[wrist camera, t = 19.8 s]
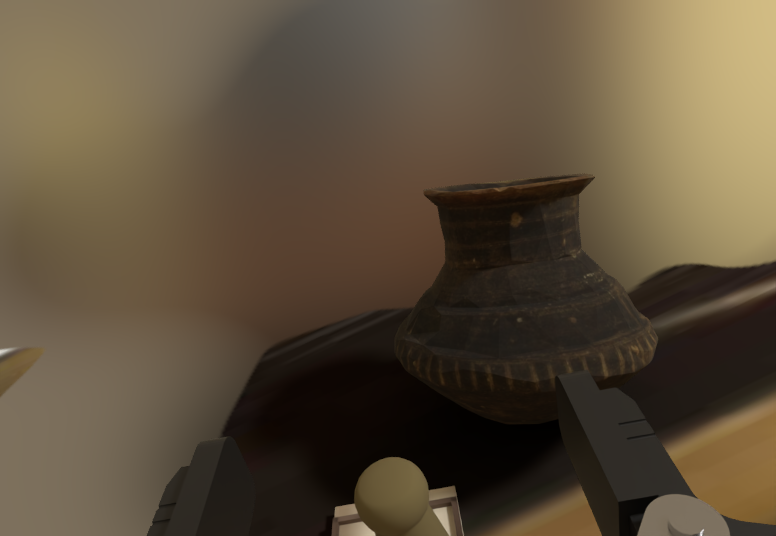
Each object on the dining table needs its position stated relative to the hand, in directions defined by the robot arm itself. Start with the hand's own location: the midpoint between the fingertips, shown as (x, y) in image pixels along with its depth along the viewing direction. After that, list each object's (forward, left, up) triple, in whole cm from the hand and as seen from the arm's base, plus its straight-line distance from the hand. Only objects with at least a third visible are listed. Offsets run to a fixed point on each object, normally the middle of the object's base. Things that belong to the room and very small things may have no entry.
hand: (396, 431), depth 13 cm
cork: (+3, -16, -31) cm, 35 cm away
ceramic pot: (-9, -34, -32) cm, 48 cm away
